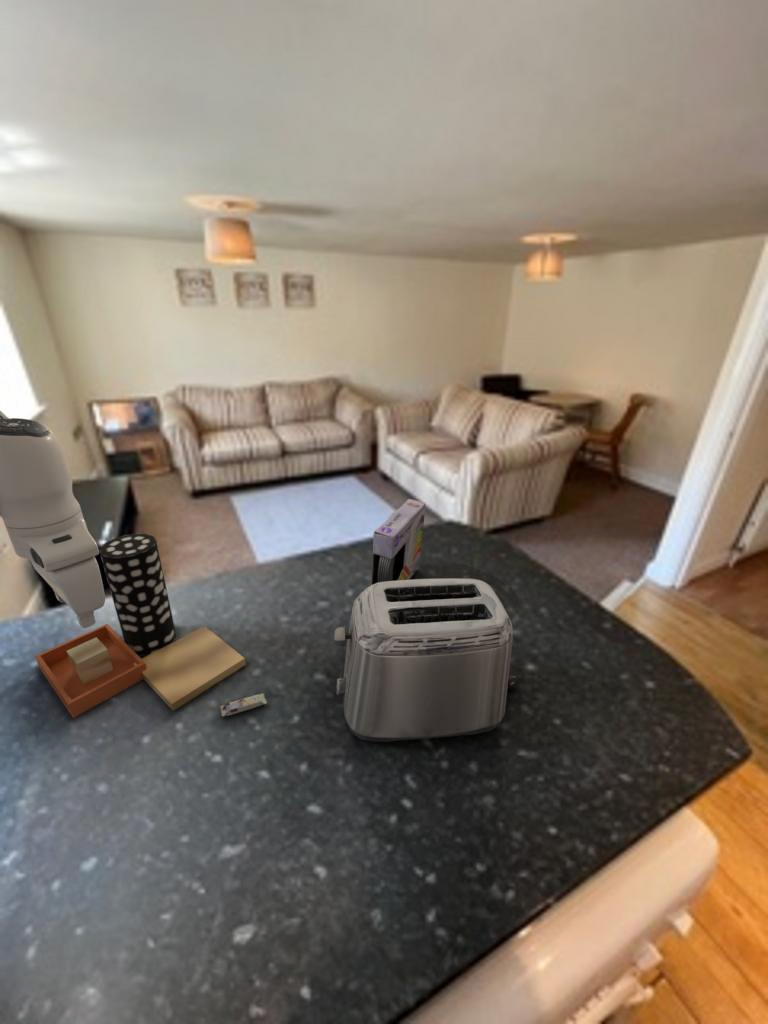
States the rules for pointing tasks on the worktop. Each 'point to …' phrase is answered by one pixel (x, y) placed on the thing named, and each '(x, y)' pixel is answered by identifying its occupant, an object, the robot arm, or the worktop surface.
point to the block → (90, 660)
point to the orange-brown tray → (100, 689)
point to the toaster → (425, 660)
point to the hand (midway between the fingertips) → (76, 611)
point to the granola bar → (243, 704)
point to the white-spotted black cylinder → (139, 592)
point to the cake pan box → (398, 543)
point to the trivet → (190, 666)
